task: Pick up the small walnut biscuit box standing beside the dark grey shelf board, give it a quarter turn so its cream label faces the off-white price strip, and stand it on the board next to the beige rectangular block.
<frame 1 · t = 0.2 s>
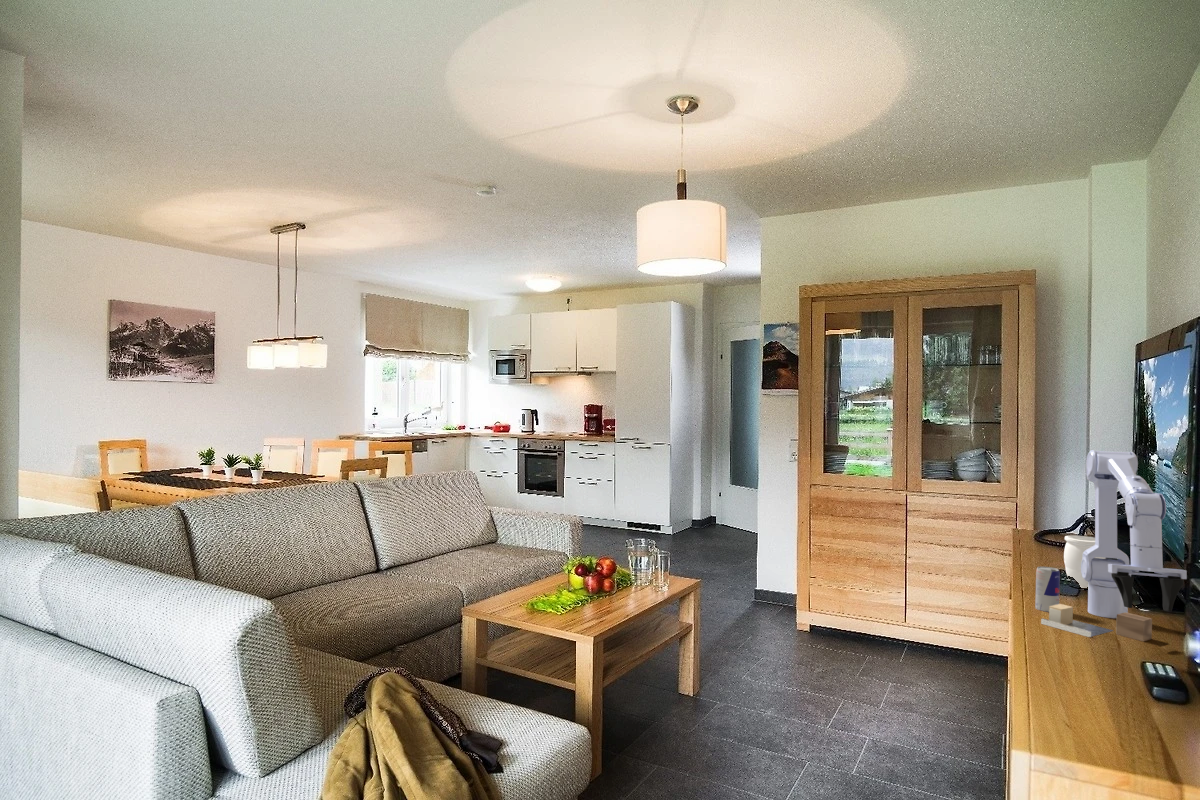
hand: (1147, 609, 159), 10 cm above the tv stand, tool pointing down, fingers open, 7 cm apart
shelf board: (1076, 631, 175), on the tv stand
energy drink: (1046, 614, 190), on the tv stand
jar: (1083, 587, 219), on the tv stand
beige rectangular block: (1060, 622, 179), point 1 cm above the tv stand, touching shelf board
biscuit box: (1133, 641, 169), on the tv stand
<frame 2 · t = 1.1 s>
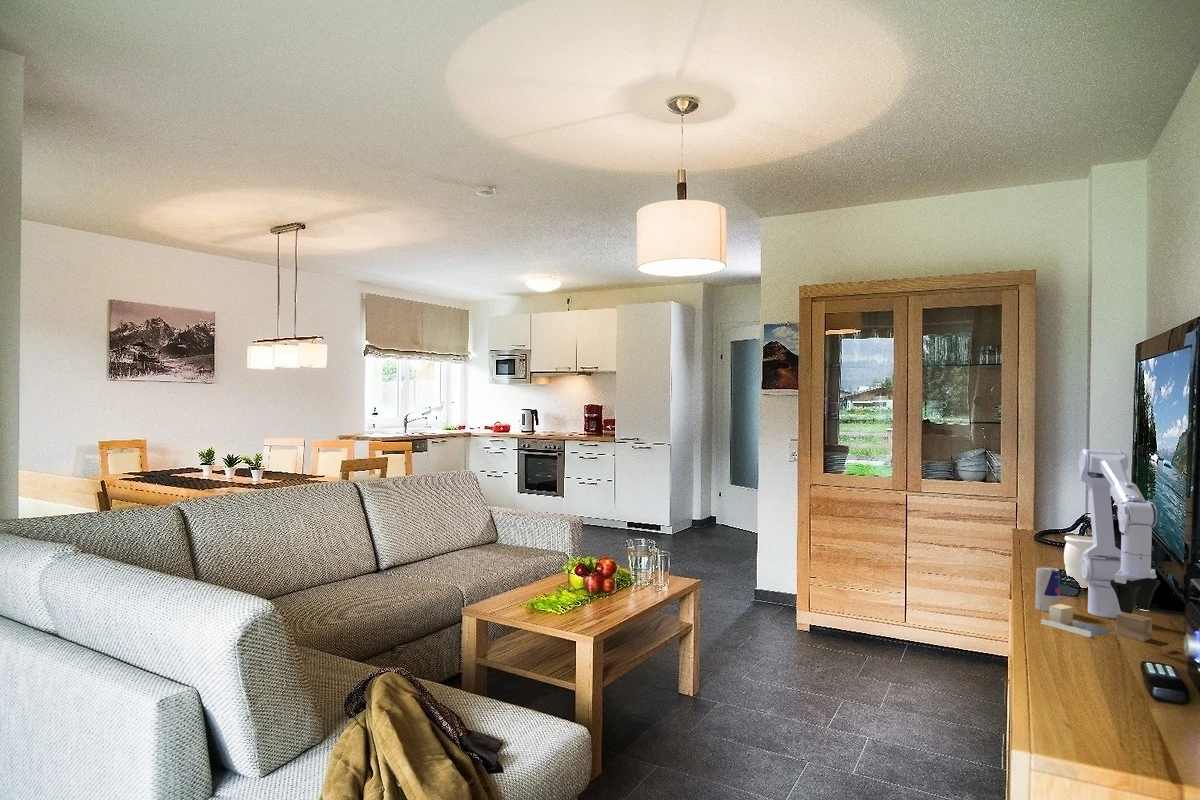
hand: (1134, 610, 169), 7 cm above the tv stand, tool pointing down, fingers open, 7 cm apart
nothing on the tv stand moved.
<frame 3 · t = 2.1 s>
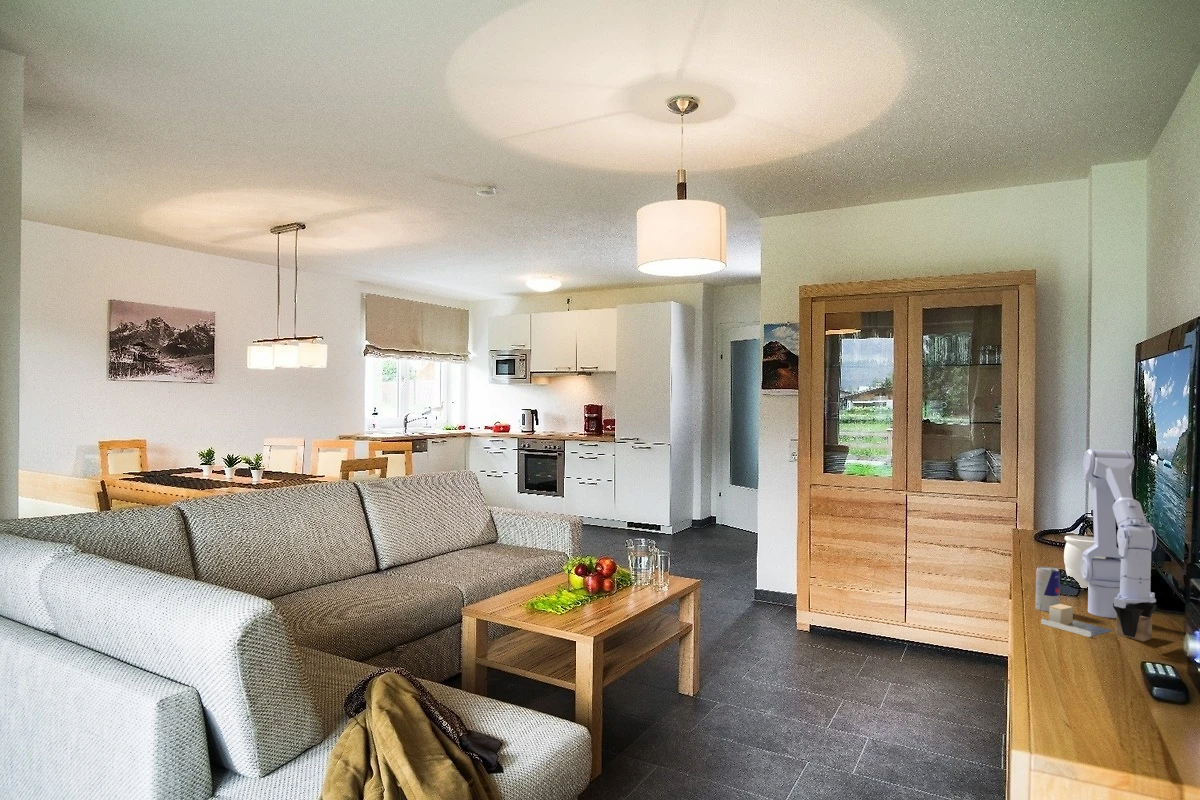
hand: (1133, 634, 169), 2 cm above the tv stand, tool pointing down, fingers closed on biscuit box, 4 cm apart
biscuit box: (1133, 641, 169), on the tv stand, touching gripper
everything else where it was.
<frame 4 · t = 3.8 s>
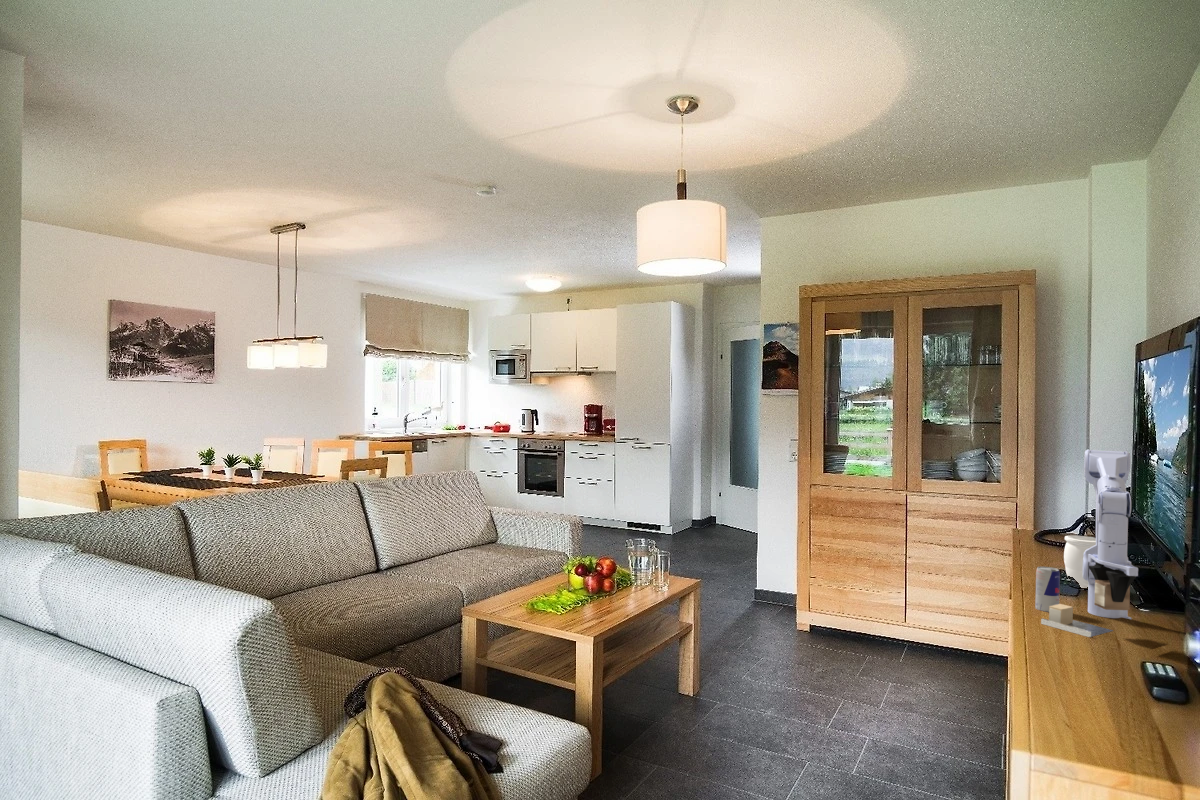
hand: (1111, 599, 171), 9 cm above the tv stand, tool pointing down, fingers closed on biscuit box, 4 cm apart
biscuit box: (1111, 607, 171), point 7 cm above the tv stand, touching gripper
everything else where it was.
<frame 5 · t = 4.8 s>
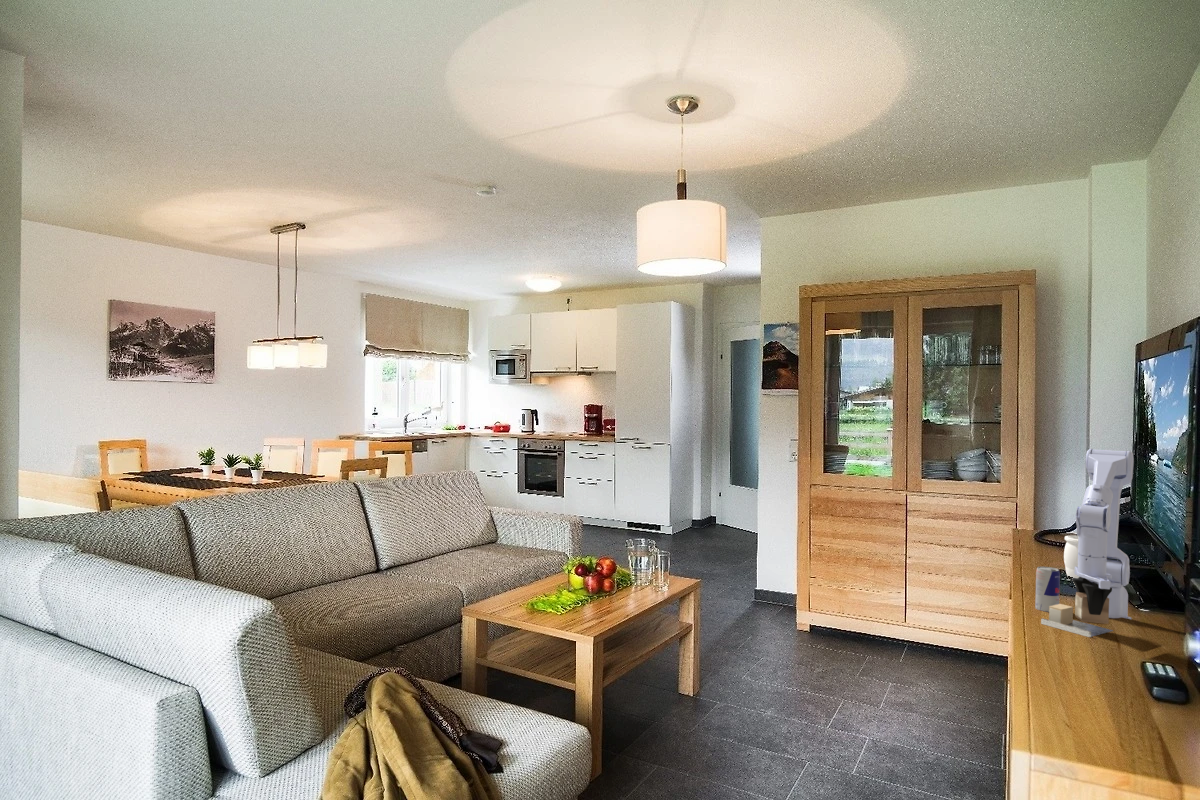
hand: (1090, 611, 173), 6 cm above the tv stand, tool pointing down, fingers closed on biscuit box, 4 cm apart
biscuit box: (1091, 620, 173), point 4 cm above the tv stand, touching gripper
everything else where it was.
when the fingers open (4 cm above the tv stand, at t = 5.6 s): biscuit box stays where it is, resting on shelf board.
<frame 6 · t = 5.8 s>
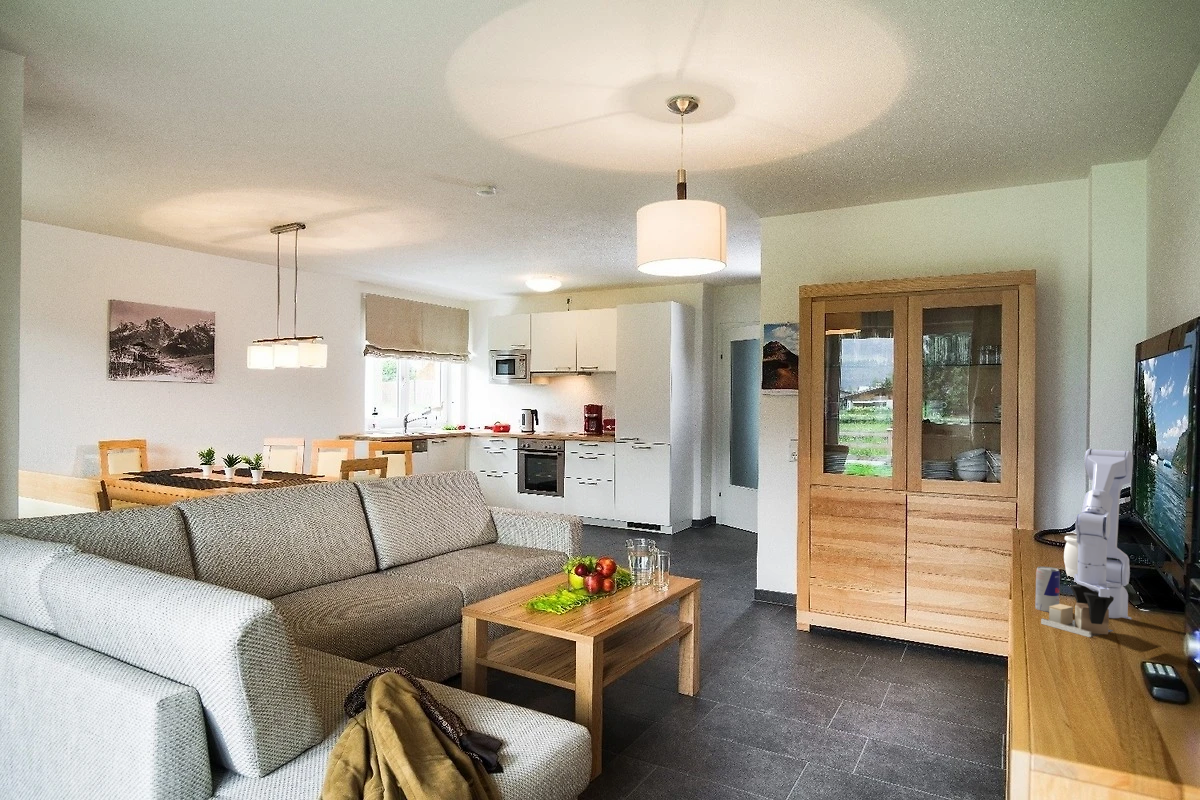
hand: (1090, 619, 173), 4 cm above the tv stand, tool pointing down, fingers open, 6 cm apart
biscuit box: (1091, 630, 173), point 1 cm above the tv stand, touching shelf board
everything else where it was.
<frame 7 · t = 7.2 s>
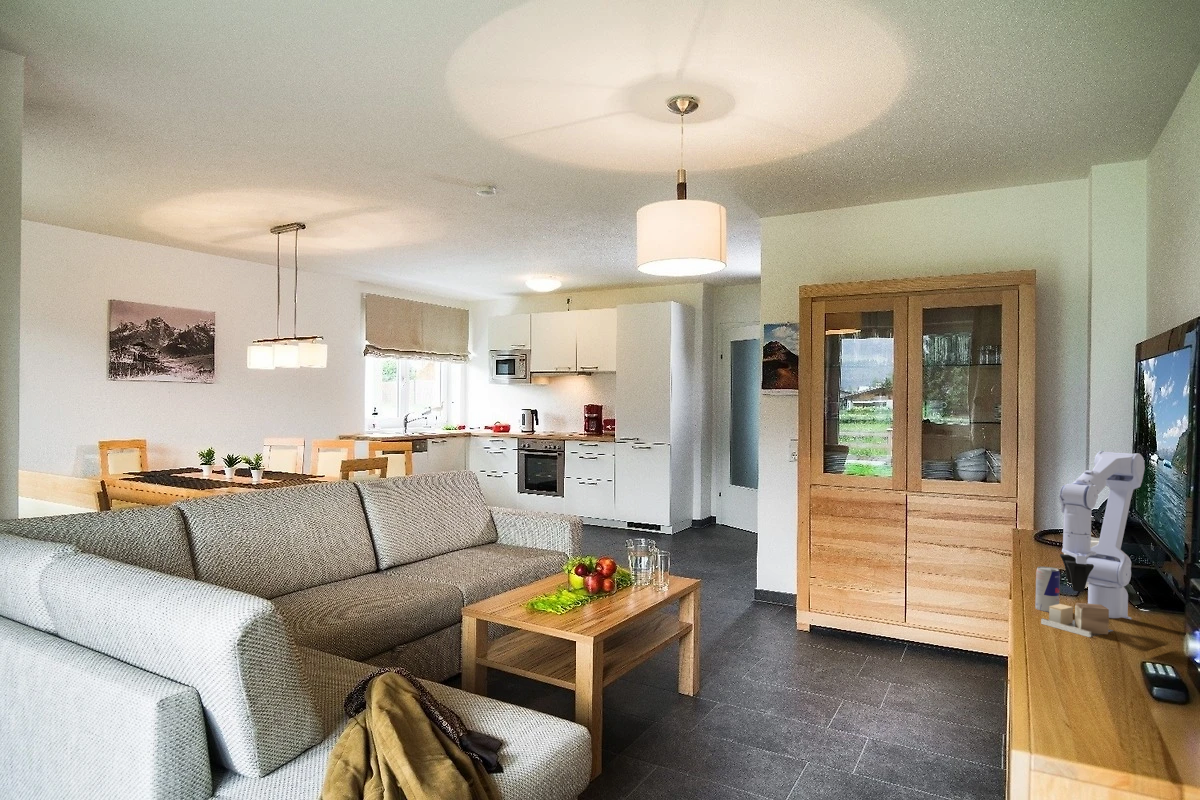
hand: (1075, 587, 177), 10 cm above the tv stand, tool pointing down, fingers open, 7 cm apart
nothing on the tv stand moved.
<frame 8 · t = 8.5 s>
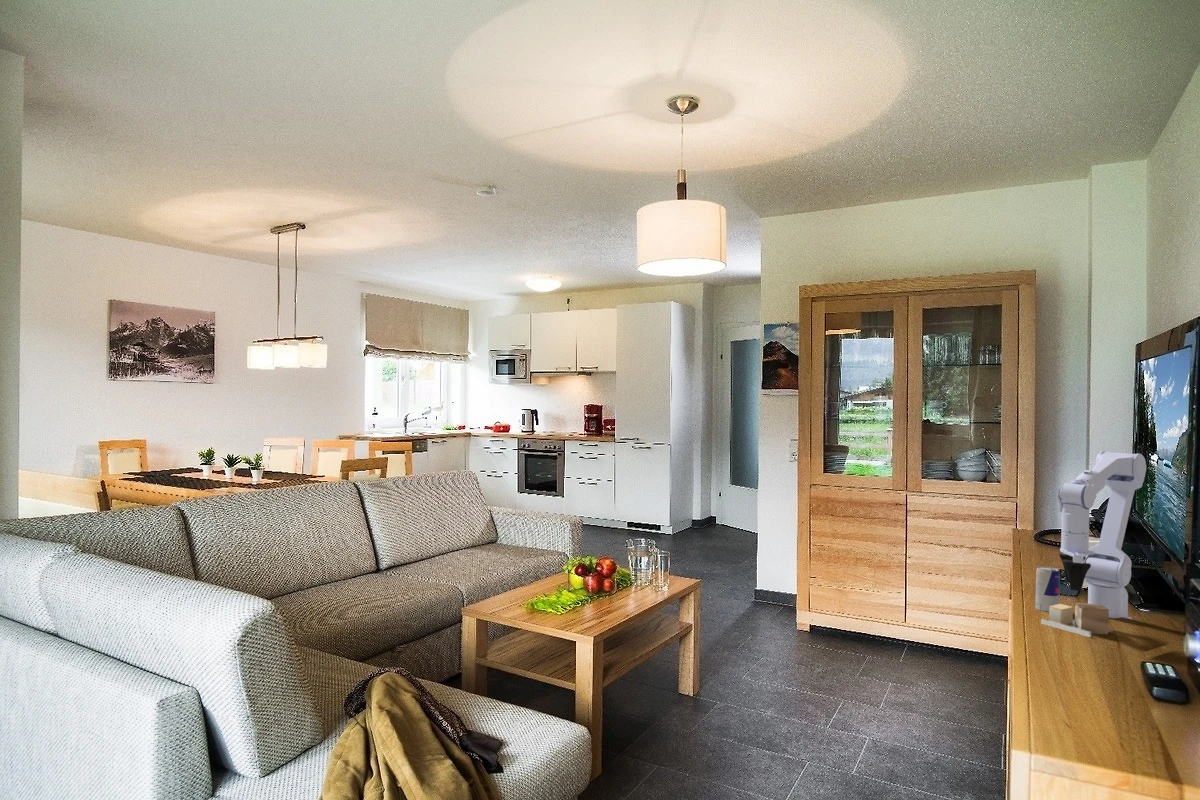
hand: (1073, 586, 178), 10 cm above the tv stand, tool pointing down, fingers open, 7 cm apart
nothing on the tv stand moved.
at the end: biscuit box inside the target area (0.5 cm from its centre), point 1.2 cm above the tv stand; biscuit box tilted 0°; the gripper is holding nothing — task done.
